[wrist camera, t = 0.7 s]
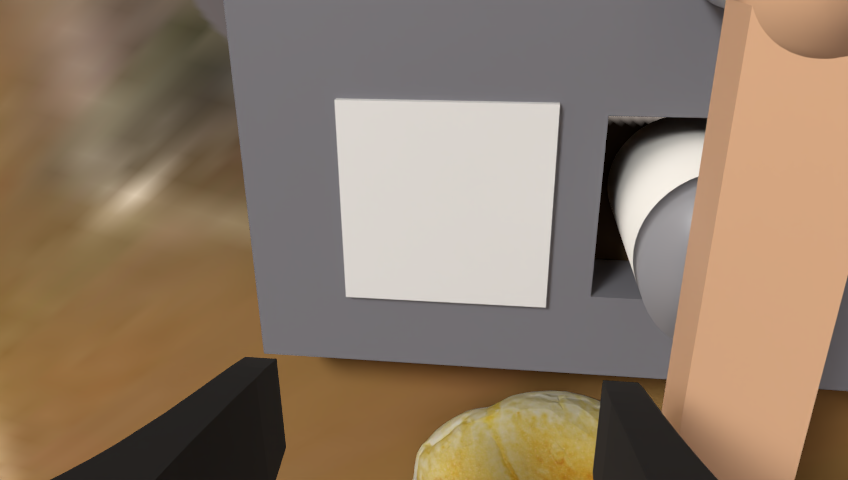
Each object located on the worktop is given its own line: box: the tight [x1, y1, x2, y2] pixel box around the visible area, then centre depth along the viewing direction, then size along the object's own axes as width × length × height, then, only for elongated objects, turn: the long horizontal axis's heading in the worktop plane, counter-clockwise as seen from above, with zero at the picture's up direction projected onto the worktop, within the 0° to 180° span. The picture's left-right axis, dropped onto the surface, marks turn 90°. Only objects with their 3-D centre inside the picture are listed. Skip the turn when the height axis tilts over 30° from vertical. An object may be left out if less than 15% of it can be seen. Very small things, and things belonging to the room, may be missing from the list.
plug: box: [607, 117, 707, 340], centre depth 17 cm, size 4×4×6 cm
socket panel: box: [223, 0, 848, 391], centre depth 17 cm, size 20×13×6 cm, turn 90°
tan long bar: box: [662, 0, 848, 480], centre depth 13 cm, size 12×3×2 cm, turn 0°
